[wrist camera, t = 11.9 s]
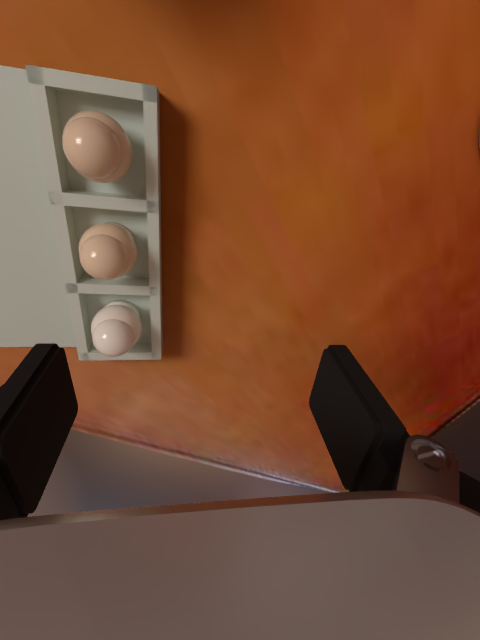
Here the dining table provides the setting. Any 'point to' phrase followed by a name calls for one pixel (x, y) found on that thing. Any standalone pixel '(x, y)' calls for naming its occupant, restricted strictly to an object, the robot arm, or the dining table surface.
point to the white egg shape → (116, 328)
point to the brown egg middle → (107, 251)
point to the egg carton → (74, 211)
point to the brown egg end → (97, 146)
